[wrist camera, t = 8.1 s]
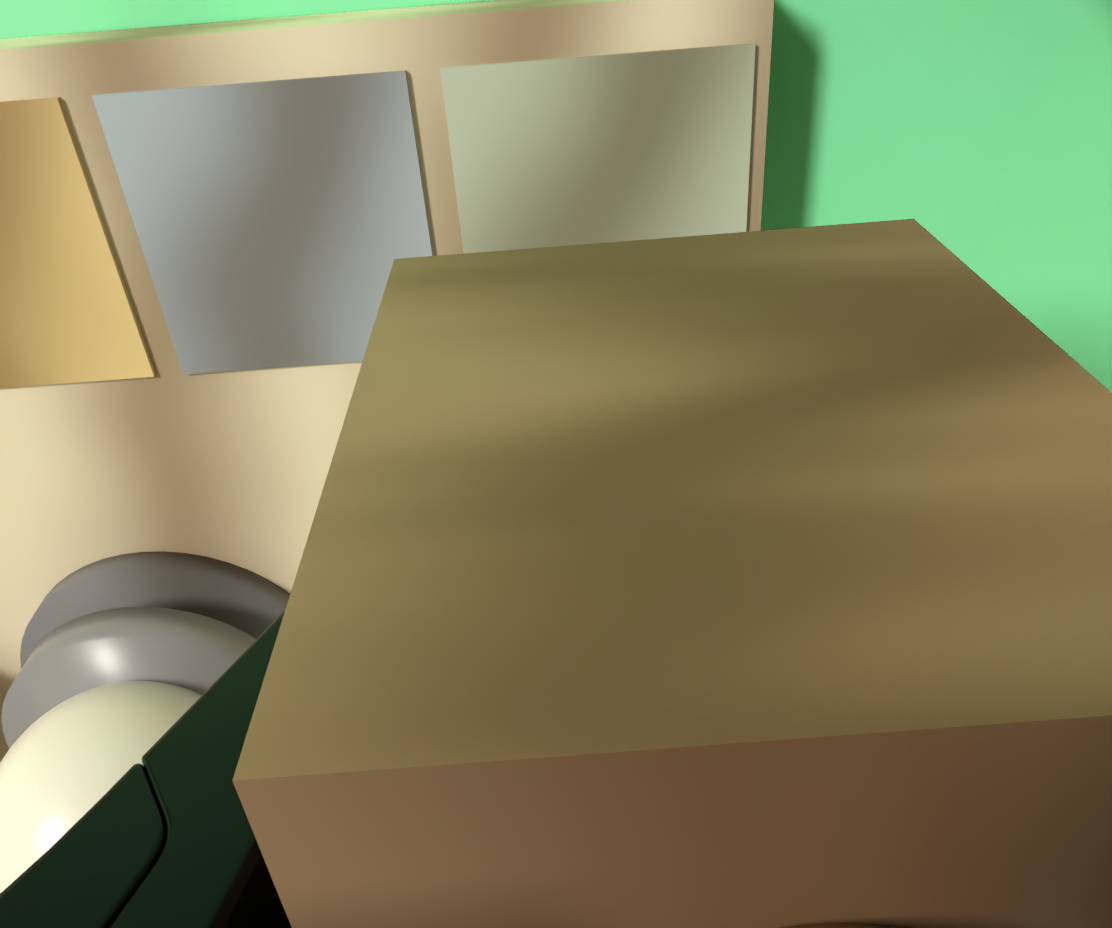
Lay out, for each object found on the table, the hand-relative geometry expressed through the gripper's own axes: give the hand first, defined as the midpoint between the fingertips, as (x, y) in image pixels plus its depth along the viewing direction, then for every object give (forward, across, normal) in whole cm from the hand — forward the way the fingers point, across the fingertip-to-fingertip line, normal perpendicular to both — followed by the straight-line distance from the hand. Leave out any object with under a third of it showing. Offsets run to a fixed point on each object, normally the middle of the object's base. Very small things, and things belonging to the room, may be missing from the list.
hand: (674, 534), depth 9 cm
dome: (+8, +11, +11) cm, 18 cm away
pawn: (+1, 0, 0) cm, 1 cm away
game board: (+11, +9, +5) cm, 15 cm away
